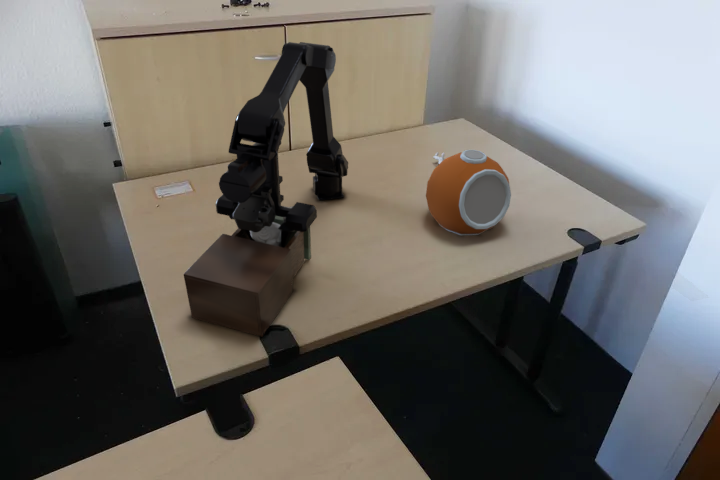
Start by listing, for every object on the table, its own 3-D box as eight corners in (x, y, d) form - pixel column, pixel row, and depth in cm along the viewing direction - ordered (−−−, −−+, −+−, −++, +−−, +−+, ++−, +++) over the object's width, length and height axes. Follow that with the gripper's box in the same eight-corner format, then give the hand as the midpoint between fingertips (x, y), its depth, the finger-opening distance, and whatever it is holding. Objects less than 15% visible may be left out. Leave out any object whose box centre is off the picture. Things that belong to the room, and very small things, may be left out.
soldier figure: (450, 165, 155) (472, 171, 144) (440, 178, 155) (461, 185, 144) (433, 147, 151) (454, 152, 140) (422, 161, 151) (442, 167, 140)
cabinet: (228, 275, 109) (222, 233, 103) (293, 291, 106) (291, 249, 100) (191, 317, 99) (183, 273, 93) (262, 337, 95) (258, 292, 89)
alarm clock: (447, 249, 119) (458, 180, 109) (410, 210, 132) (417, 145, 122) (518, 232, 125) (535, 165, 115) (476, 196, 138) (488, 133, 128)
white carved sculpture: (247, 247, 109) (244, 218, 105) (279, 238, 112) (277, 209, 108) (258, 263, 105) (255, 233, 101) (291, 253, 108) (290, 224, 104)
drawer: (264, 232, 120) (262, 199, 115) (319, 245, 117) (318, 211, 112) (226, 277, 107) (221, 242, 102) (286, 292, 104) (284, 256, 99)
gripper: (194, 187, 94) (205, 258, 103) (292, 207, 90) (295, 280, 99) (226, 160, 103) (234, 227, 112) (317, 177, 99) (318, 246, 108)
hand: (268, 245), depth 108 cm, fingers closed on white carved sculpture, 6 cm apart
